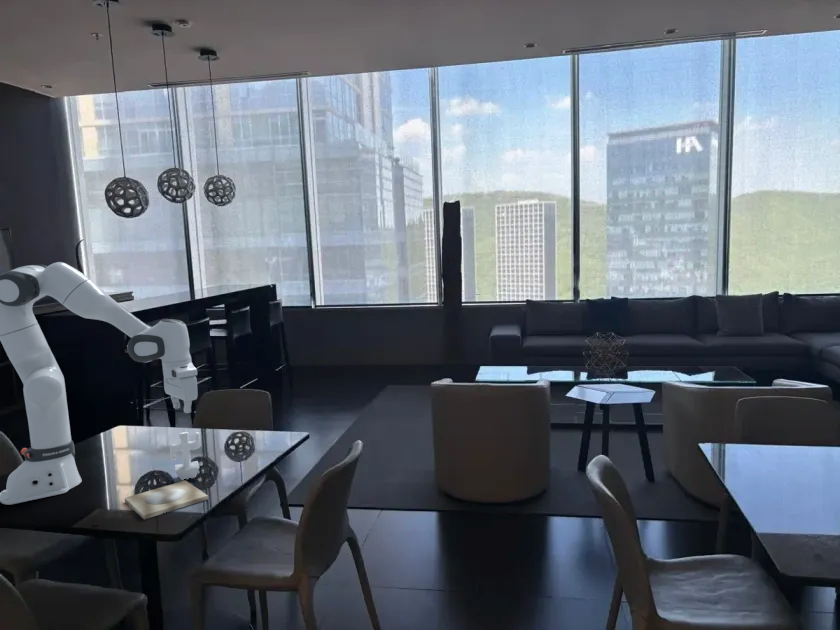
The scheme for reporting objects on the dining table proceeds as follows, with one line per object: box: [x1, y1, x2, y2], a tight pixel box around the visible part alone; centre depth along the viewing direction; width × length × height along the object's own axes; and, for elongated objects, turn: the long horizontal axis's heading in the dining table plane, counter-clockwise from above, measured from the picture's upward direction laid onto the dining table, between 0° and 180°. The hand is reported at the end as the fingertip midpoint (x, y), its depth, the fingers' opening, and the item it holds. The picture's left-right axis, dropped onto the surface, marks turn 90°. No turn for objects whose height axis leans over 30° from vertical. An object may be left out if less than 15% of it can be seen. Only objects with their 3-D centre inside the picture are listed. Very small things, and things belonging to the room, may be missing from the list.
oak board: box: [124, 480, 209, 520], centre depth 176 cm, size 18×18×1 cm
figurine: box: [169, 431, 201, 481], centre depth 194 cm, size 7×9×15 cm
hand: (182, 410), depth 193 cm, fingers open, 8 cm apart
